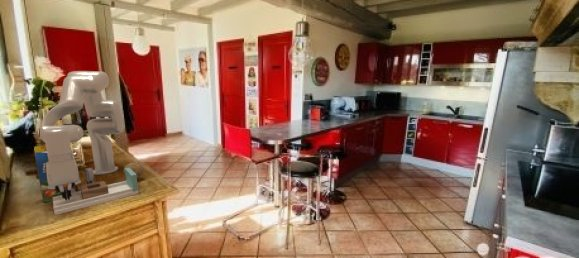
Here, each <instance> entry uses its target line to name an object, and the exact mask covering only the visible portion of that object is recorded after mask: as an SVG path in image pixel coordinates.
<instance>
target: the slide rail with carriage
mask: <svg viewBox="0 0 579 258" xmlns="http://www.w3.org/2000/svg"><path fill="white" fill-rule="evenodd" d="M124 176H125V180H123V181H119V182H114V183H110V184H106V185H107V186H108V192H109V193H108V194H104V195H100V196H96V197H92V198H88V199H84V200H83V198H82V195H81V190H80V191H79V190H78V192H74V193H71V197H70V199H69V200H68V198H67V200H65V198H62V195H61V196H56V197H52V198H53V201H52V203H53V211H54V212H53V213H54V216H57V215H61V214H65V213H68V212H73V211H76V210H77V211H78V210H81V209H84V208H87V207H92V206H96V205H100V204H103V203H107V202H112V201H114V200H118V199H123V198H127V197H130V196H134V195H138V194H139V187H138V186H139V185H138V178H137V176H136V174H135V173H134V172H133V171H132V170H131V169H130V168H125V174H124ZM66 195H67V194H66Z"/></svg>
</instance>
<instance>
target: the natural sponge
mask: <svg viewBox="0 0 579 258" xmlns="http://www.w3.org/2000/svg"><path fill="white" fill-rule="evenodd" d="M125 168H130V169H131V170H132V171H133V172H134V173H135V174H136V176H137V179H138V178H140V177H141V176H143V175H144V168H143V167H142V165H141V164H139V163H137V162H134V161H133V162H130V163H128V164H126V165H125V166H124V167H123V169H122V171H123V172H122V173H123V174H124V175H125Z"/></svg>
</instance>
